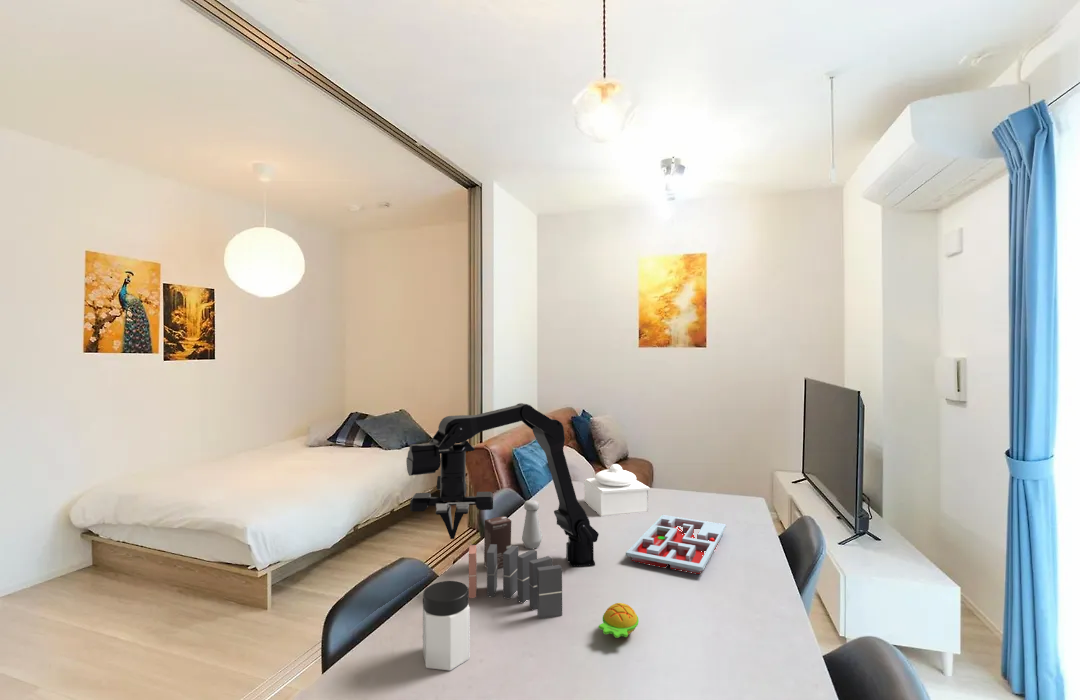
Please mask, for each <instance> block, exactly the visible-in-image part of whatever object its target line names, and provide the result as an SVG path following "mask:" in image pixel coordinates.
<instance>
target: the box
mask: <svg viewBox="0 0 1080 700" xmlns="http://www.w3.org/2000/svg"><path fill="white" fill-rule="evenodd" d="M483 538H484V546H483V547H484V548H483V549H484V551H483V552H484V553H483V558H484V560H483V565H484V567H485V566H486V568H487V551H488V549H489V546H490V544H497V570H498V569H503V553H504V552H505V551H506V550H508V549H509V548H510V547H511V546H512V520H511V519H510V518H508V517H507V516H505V515H502V516H497V517H492V518H489V519H484V537H483Z"/></svg>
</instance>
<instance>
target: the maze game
mask: <svg viewBox="0 0 1080 700" xmlns="http://www.w3.org/2000/svg"><path fill="white" fill-rule="evenodd" d="M677 526H681V527H683V531H682V530H681V529H680V528H679V527H678V529H679V530H681V531H682V532H681V531H679V530H678V529H676V527H677ZM726 528H727V524H725V523H719V522H714V521H713V522H712V521H707V520H698V519H692V518H686V517H681V516H679V517H678V516H673V515H665V514H662V515H661V516H660V517H659V518H658V519H657V520H656V521H655V522H654V523H653V524H652V525H651V526H650V527H649V528H648V529H647V530H646V531H645V532H644V533H643V534H642V535H641V536H640V537H639V538H638V539H637V540H636V541H635V543H633V544H632V546H630V548H629V549H628V550H626V552H625V557H631V562H632V561H635V562H634V563H637V562H640V563H639V564H642V563H645V564H644V565H647V564H650V565H649V566H652V565H655V566H654V567H657V566H660V567H659V568H662V567H666V566H667V565H668V564H669V565H670V568H671V569H670V570H672V569H676V570H675V571H677V570H682V571H687V572H692V573H696V574H695V575H697V574H701V573H700V572H703V571H704V570H705V567H706V565H707V564H708V562H709V560H710V559H711V556H712V555H713V553H714V552H713V551H714V550H715V549H716V547H717V545H718V543H719V544H720V540H721V538H722V536H723V534H724V532H725V530H726ZM694 529H700V531H699V532H698V534H697V539H694V538H695V537H694V535H693V533H694ZM684 533H686V534H684ZM682 534H683V535H682ZM692 537H693V538H692ZM708 540H709V541H708ZM718 546H719V545H718ZM717 548H718V547H717ZM716 550H717V549H716ZM701 551H702V552H701ZM704 551H706V552H705V554H704ZM702 555H703V556H702ZM669 565H668V566H669ZM668 566H667V567H668ZM667 567H666V568H667ZM682 571H681V572H682ZM687 572H686V573H687ZM692 573H691V574H692Z"/></svg>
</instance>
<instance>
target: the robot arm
mask: <svg viewBox="0 0 1080 700" xmlns="http://www.w3.org/2000/svg"><path fill="white" fill-rule="evenodd" d="M519 422H522V423H523V424H524V425H525V426H526V427H528V428H529V429H531V430H532V433H533V435H534V438H535V440H536V442H537V443H538V445H539V447H540V448H541V449H542V450H543V452H544V453H545V456H546V460H547V461H546V462H547V463H548V467H549V471H550V474H551V479H552V482H553V485H554V488H555V492H556V494H557V495H556V497H557V499H558V503H559V504H558V508H557V509H555V510H553V513H554V516H555V519H556V525H558V526H559V527H560V529H562V530H563V532H564V534H565V535H566V536H568V538H567V539H568V542H566V544H565V545H566V546H565V548H566V549H565V550H566V551H565V552H566V553H565V555H566V560H567V562H569V565H570V567H590V566H591V567H592V566H596V562H595V560H594V557H595V556H594V555H595V554H594V553H595V552H594V543H596V542H598V539H599V532H598V531H596V529H595V528H594V527H592V526H591V523H590V519H589V517H588V515H587V513H586V512H587V511H586V510H585V509H584V508H583V506H582V505H581V504H580V502H579V500H578V499H577V494H576V491H575V488H574V484H573V481H572V476H571V474H570V470H569V469H570V468H569V466H568V463H567V459H566V455H565V452H564V446H565V443H566V437H565V428H564V425H563V423H562V422H561V421H560V420H558V419H555V418H550V417H548V416H547V415H545V414H543V413H542V412H540V411H538V410H537V409H536V408H534V407H533V406H532V405H531V404H529V403H528V404H527V403H522V402H520V403H517V404H515V405H512V406H507V407H504V408H503V407H502V408H499V409H495V410H490V411H487V412H482V413H479V414H473V415H472V414H469V415H468V414H467V415H465V414H461V415H458V414H457V415H448V416H447V415H446V416H445V417H443V418H442V419H441V421H440V422H439V424H438V430H437V431H436V432H435V434H434V436H432V438H431V440H430V441H429V442H428V443H425V444H424V443H423V444H418V443H417V444H416V443H415V444H414V443H412V444H409V450H408V452H407V457H406V471H407V475H408V476H411V477H412V476H418V475H428V474H436V472H437V471H439V470H440V475H438V476H436V477H437V479H436V490H437V491H440V496H432V494H431V492H416V493H414V495H413V496H412V497H411V499H410V503H409V504H410V505H409V511H410V512H413V513H414V512H415V513H417V512H424V511H426V510H427V509H428V507H434V506H435V508H436V510H435V515H438V516H440V517H441V520H442V522H443V523H444V525H445V528H446V530H447V533H448V535H449V538H450V539H451V540H455V538H456V534H457V531H458V527H459V524H460V523H461V520H462V518H463V516H464V515H467V514H468V513H469V511H470V506H475V508H477V510H479V511H491V510H494V493H493V492H492V491H476V496H474V495H470V496H466V495H467V481H466V474H467V473H466V468H467V467H466V464H467V463H466V461H467V460H466V456H467V455H466V453H467V452H473V451H475V447H474V446H473V445H472V444H471V443H470V441H468V440H470V439H472V438H474V437H475V436H477V435H478V434H480V433H482V432H484V431H489V430H492V429H496V428H500V427H503V426H507V425H511V424H514V423H515V424H516V423H519ZM452 506H455V507H456V508H455V512H454V519H452Z"/></svg>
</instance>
